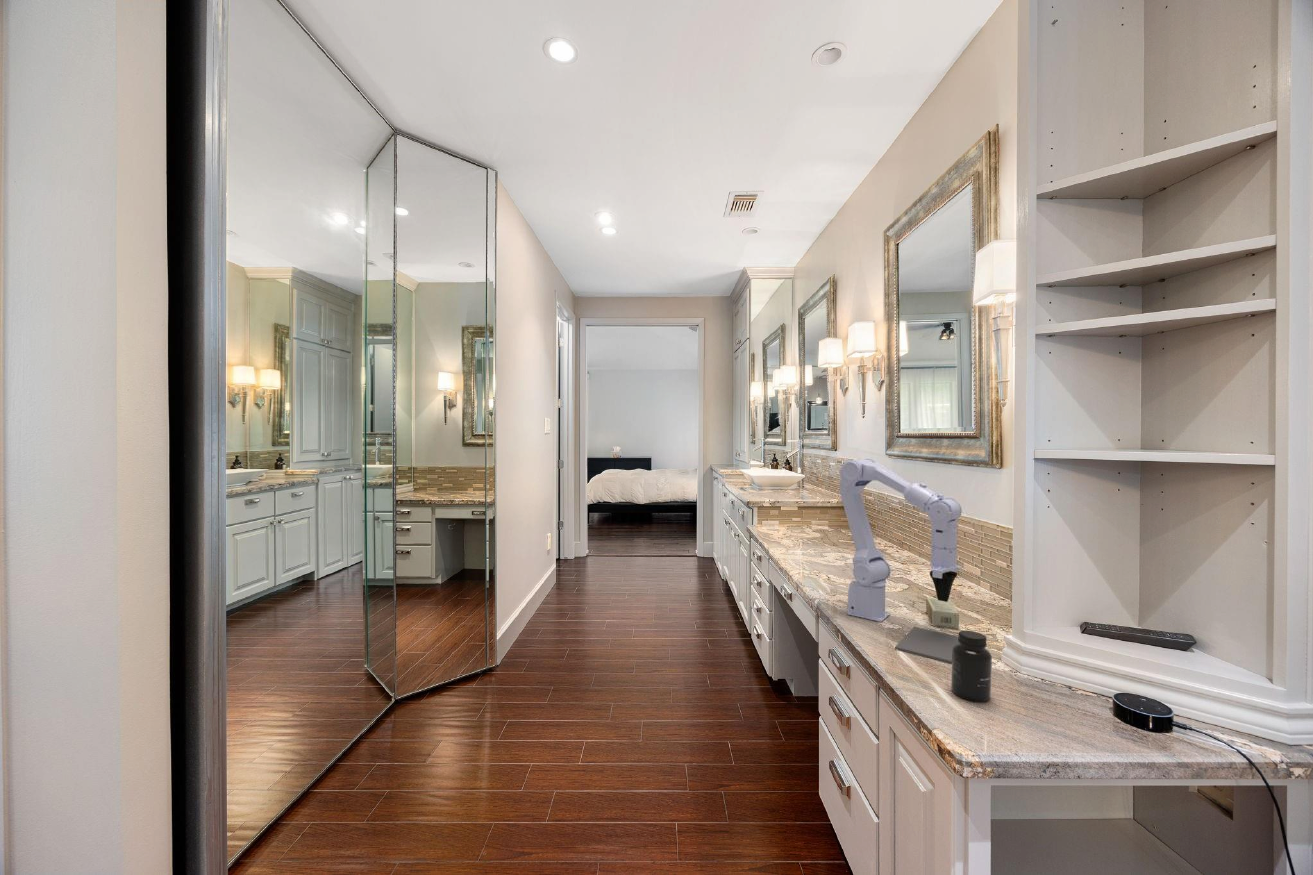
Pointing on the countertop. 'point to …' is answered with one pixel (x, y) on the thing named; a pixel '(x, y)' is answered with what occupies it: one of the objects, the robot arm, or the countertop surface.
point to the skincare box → (942, 613)
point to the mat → (929, 644)
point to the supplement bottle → (971, 667)
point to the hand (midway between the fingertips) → (942, 600)
